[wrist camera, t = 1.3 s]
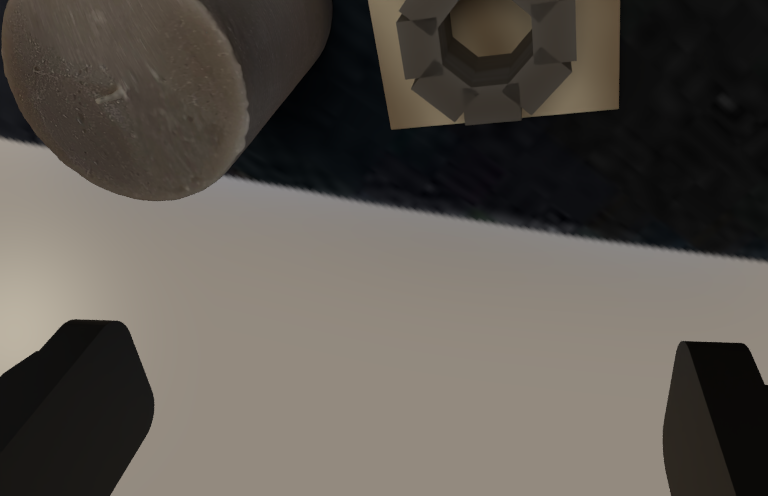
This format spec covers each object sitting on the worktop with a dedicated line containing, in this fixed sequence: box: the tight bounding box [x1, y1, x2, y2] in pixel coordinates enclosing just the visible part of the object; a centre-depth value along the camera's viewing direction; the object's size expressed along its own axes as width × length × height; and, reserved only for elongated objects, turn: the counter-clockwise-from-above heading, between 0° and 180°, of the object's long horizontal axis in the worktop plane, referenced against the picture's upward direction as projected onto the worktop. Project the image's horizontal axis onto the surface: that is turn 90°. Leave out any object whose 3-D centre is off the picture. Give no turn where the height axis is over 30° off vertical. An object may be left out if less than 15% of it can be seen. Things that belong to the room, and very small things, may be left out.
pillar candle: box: [1, 0, 333, 201], centre depth 30 cm, size 10×10×15 cm
